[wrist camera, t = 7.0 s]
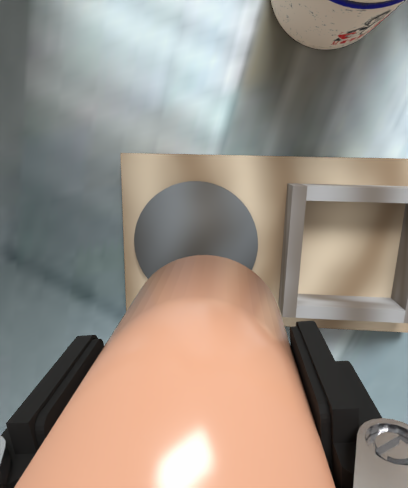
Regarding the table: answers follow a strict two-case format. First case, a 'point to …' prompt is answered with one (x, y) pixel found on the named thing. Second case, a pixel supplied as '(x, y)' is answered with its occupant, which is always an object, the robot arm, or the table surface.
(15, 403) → the table surface
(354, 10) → the teacup with lid
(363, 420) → the robot arm
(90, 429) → the peach rounded peg
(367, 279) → the board
